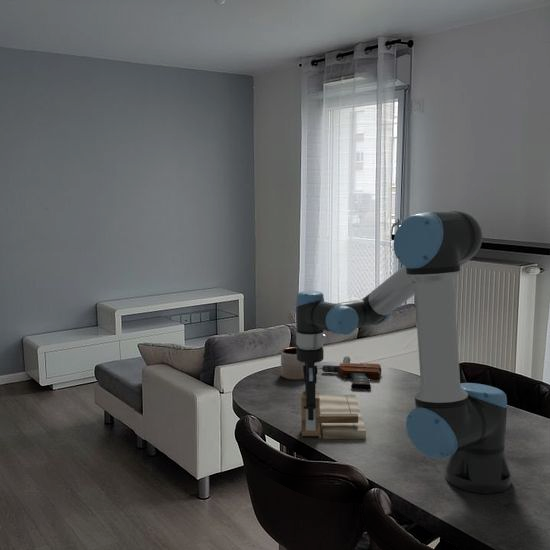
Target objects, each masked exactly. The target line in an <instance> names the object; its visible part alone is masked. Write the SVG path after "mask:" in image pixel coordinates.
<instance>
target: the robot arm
mask: <svg viewBox="0 0 550 550" xmlns="http://www.w3.org/2000/svg"><path fill="white" fill-rule="evenodd" d="M482 242H483V231H482V227H481V226H480V223H479V222H478V221H477V219H475V218H474V217H473V216H472V215H470V214H469V213H466V212H464V211H459V210H451V211H435V212H434V211H433V212H428V211H426V212H425V211H424V212H422V213H417V214H412V215H410V216H409V215H408V216H407V217H406V218H405V219H404V220H403V221H402V222H401V223H400V225H398V227H397V229H396V231H395V234H394V238H393V252H394V255H395V258H396V259H398V262H399V263H400V264H401V265H402V267H400V268H399V269H398V270H397V271H396V272H395V273H393V274H392V275H390V276H389V277H388V278H387V279H386V280H384V281H383V282H382V283H381V284H379V285H378V286H377V287H375V288H374V289H373V290H372V291H371V292H370V293H368V294H367V295H365V296H364V297H363V298H361V299H357V300H356V299H355V300H349V301H344V302H343V301H342V302H337V303H335V302H334V303H333V302H327V301H325V299H324V293H322V292H321V291H317V290H303V291H300V292H298V293H297V295H296V305H295V309H296V312H295V313H296V317H295V318H296V334H295V336H296V338H295V339H296V340H295V341H296V342H295V343H296V347H297V360H298V361H300V362H305V365H303V373H304V379H303V382H304V384H305V385H304V386H305V387H304V389H305V390H304V391H306V406H304V409H306V431H316V400H315V391H316V385H317V383H318V382H317V381H318V380H317V379H318V377H317V375H318V365H315V364H316V363H321V362H323V361H324V352H325V351H324V339H325V338H326V337H327V336H326V334H324V331H326V332H331V333H333V334H336V335H343V336H347V335H351V334H352V333H353V332H354V331H356V329H358V328H364V327H370V326H378V325H379V324H383V323H385V322H387V321H388V319H389V318H390V315H391V313H392V312H394V310H396V309H397V308H399V306H401V305H402V304H404V303H405V302H407V301H408V300H409V299H411V298H412V297H413V296H414V303H415V305H414V306H415V317H416V330H417V332H416V333H417V345H418V346H417V347H418V348H417V349H418V361H419V377H420V388H419V389H418V391H416V393H415V394H414V404H415V408H413V409H412V410H411V411H410V412H409V414H408V415H407V416H406V417H407V418H406V421H405V428H406V433H407V435H408V438H409V440H410V442H411V443H412V445H413V446H415V448H416V449H417V451H419V453H421V454H422V455H424V456H425V457H429V458H431V459H435V460H436V459H442V458H445V457H446V458H447V457H448V459H447V462H446V464H445V471H444V473H445V474H444V477H445V479H446V481H448V482H449V483H450V485H452V486H454V487H456V488H458V489H461V490H463V491H467V492H471V493H475V494H484V495H485V494H488V495H489V494H497V493H502V492H504V491H507V490H508V489H509V488H510V487H511V484H512V472H511V469H510V465H509V463H508V459H507V456H506V452H505V451H506V449H505V448H506V445H505V444H506V433H507V432H506V429H507V411H508V401H507V399H508V398H507V394H506V393H505V392H504V391H503V390H501V389H499V388H497V387H494V386H491V385H487V384H481V383H477V382H475V383H474V382H463V383H462V382H461V376H460V375H461V374H460V361H459V344H458V343H459V342H458V329H457V315H456V313H457V312H456V299H455V298H456V295H455V284H454V280H455V278H456V277H458V275H459V274H460V273H461V266H462V265H464V264H466V263H467V262H469V261H470V260H471V259H472V258H473V257H475V255H476V254H478V251H479V250H480V248H481V246H482Z"/></svg>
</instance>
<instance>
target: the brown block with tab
mask: <svg viewBox="0 0 550 550" xmlns="http://www.w3.org/2000/svg"><path fill="white" fill-rule="evenodd" d="M319 395H320V391H318V390H317V391H316V390H315V400H316V431H306V409H304V406H306V391H305V390H304V391H300V397H301V398H300V403H301V404H300V405H301V406H300V408H301V409H300V410H301V412H300V413H301V414H300V415H301V417H300V419H301V420H300V421H301V422H300V423H301V425H300V427H301V437H320V434H321V433H320V431H321V430H320V427H321V423H358V414H320V398H319Z"/></svg>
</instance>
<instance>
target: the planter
mask: <svg viewBox="0 0 550 550" xmlns="http://www.w3.org/2000/svg"><path fill="white" fill-rule="evenodd" d="M297 347H298V346H293V347H292V346H291V347H285V348H283V349H280V350H281V351H280V376H281V377H282V378H284V379H286V380H293V381H302V380H304V373H303V365H305V362H300V361H298V360H297Z"/></svg>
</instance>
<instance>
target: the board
mask: <svg viewBox="0 0 550 550" xmlns="http://www.w3.org/2000/svg"><path fill="white" fill-rule="evenodd" d="M319 398H320V414H358V423H320V427H321V434H322V439H323V440H366V439H367V429H366V426H365V423H364V420H363V416H362V413H361V409H360V406H359V403H358V400H357V399H358V398H357V397H356V394H319Z"/></svg>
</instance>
